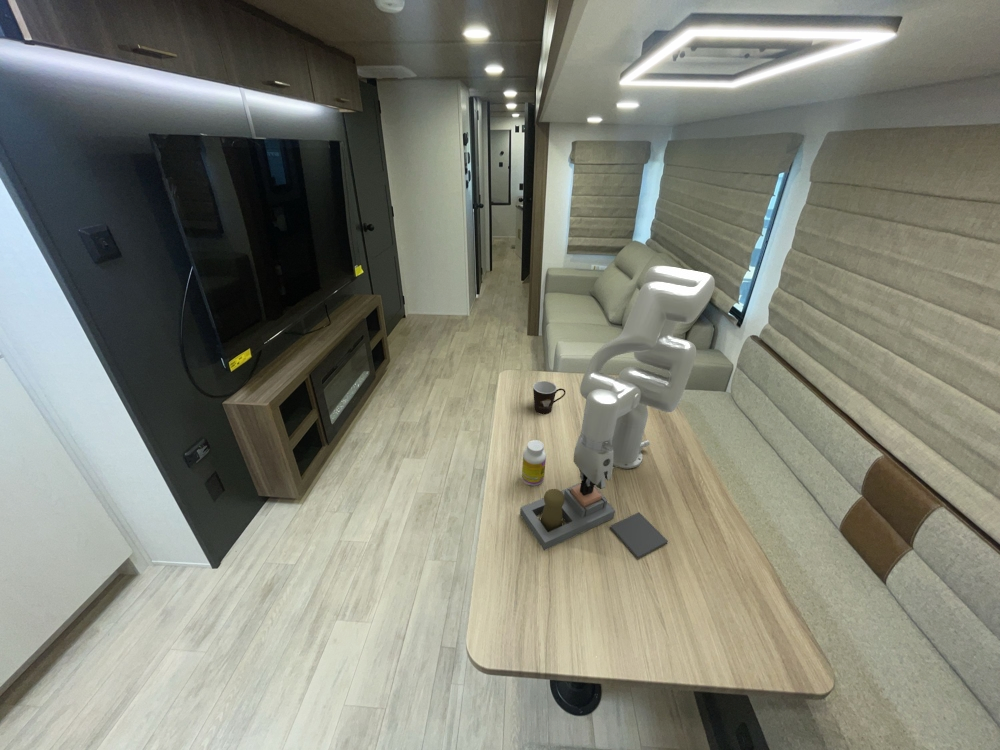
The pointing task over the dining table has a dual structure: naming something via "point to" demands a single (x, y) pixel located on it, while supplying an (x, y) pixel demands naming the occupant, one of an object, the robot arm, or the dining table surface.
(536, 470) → the supplement bottle
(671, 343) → the robot arm
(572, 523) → the frame
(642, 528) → the rubber mat
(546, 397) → the coffee mug
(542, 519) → the brown pawn
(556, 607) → the dining table surface
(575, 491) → the salmon square block
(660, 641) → the dining table surface
